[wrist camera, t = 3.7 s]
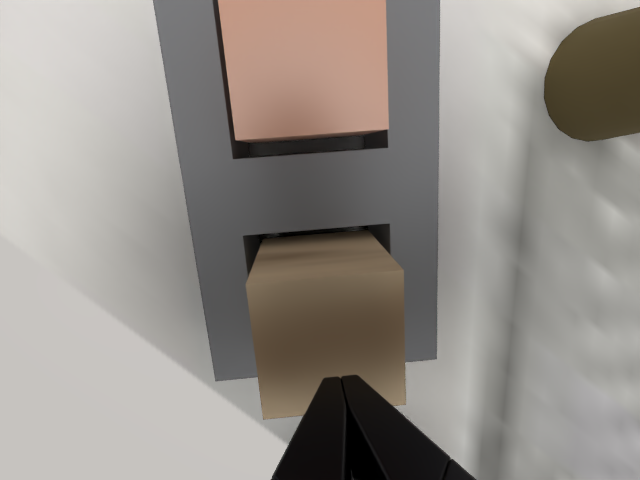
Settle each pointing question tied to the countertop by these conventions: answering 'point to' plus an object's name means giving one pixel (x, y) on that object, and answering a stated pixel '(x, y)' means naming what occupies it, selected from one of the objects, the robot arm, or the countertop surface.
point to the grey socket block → (304, 175)
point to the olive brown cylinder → (597, 79)
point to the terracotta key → (305, 68)
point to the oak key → (325, 318)
